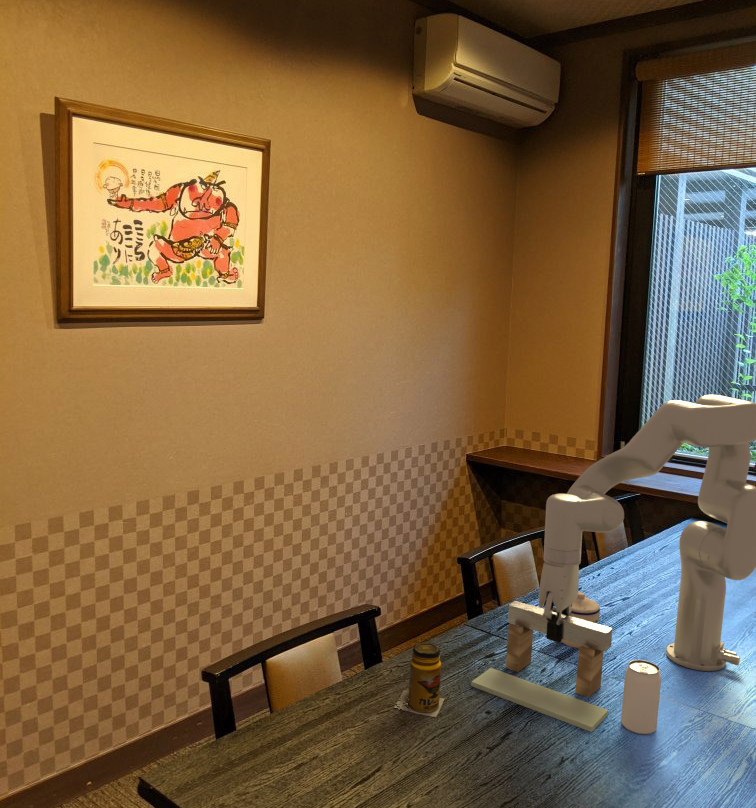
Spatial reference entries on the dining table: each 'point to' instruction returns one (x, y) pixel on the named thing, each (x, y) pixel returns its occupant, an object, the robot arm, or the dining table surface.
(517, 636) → the post
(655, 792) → the dining table surface
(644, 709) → the can
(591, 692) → the post
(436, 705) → the condiment
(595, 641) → the rail
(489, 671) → the mat
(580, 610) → the teacup with lid
